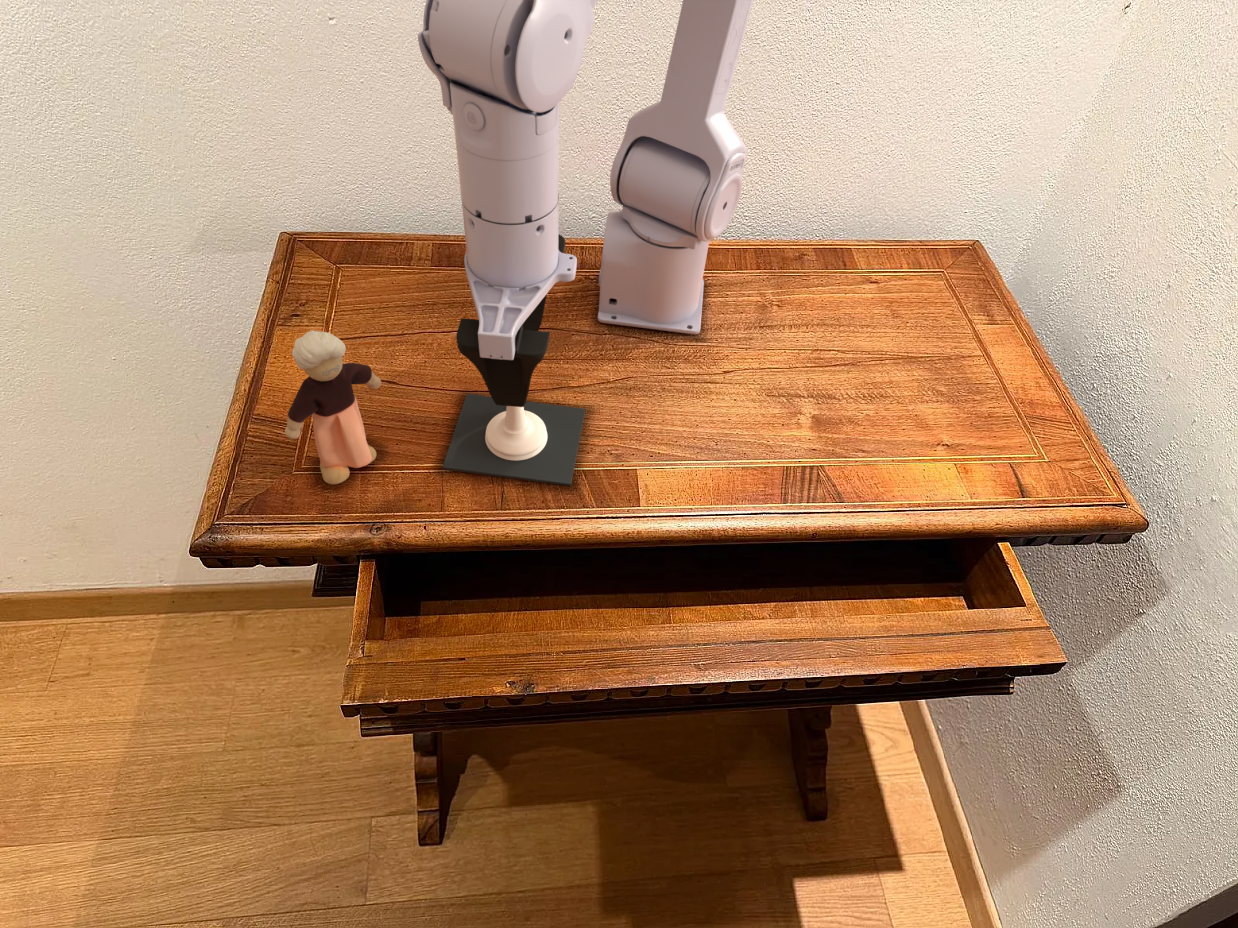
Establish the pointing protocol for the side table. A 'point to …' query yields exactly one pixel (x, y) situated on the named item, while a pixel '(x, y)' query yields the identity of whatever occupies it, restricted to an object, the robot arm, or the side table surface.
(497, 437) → the chess piece
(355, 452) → the grandmother figurine
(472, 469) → the felt mat
